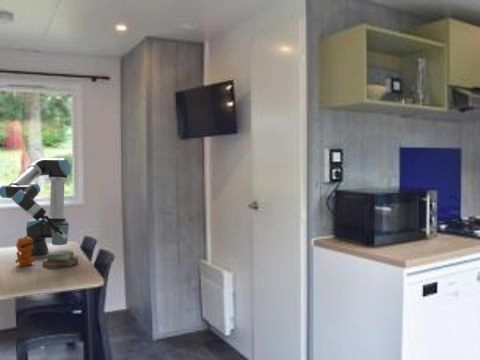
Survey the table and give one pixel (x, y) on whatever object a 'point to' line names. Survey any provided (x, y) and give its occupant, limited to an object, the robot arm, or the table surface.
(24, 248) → the toy dinosaur
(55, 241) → the teal tapered container
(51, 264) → the plinth
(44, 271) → the table surface
